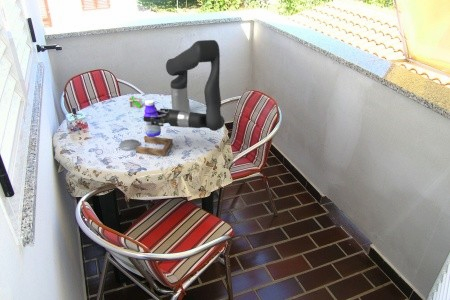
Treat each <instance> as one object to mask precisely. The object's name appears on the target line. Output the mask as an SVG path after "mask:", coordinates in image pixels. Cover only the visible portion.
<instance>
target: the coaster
mask: <svg viewBox="0 0 450 300" xmlns="http://www.w3.org/2000/svg"><path fill="white" fill-rule="evenodd" d="M118 145H119V146H118V147H119V148H120V150H123V151H127V152H128V151H129V152H130V151H134V150H136V149H135V147H136V146H140V147H141V142H140V141H139V140H137V139H125V140H123V141H121V142H120V143H119V144H118Z"/></svg>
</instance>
